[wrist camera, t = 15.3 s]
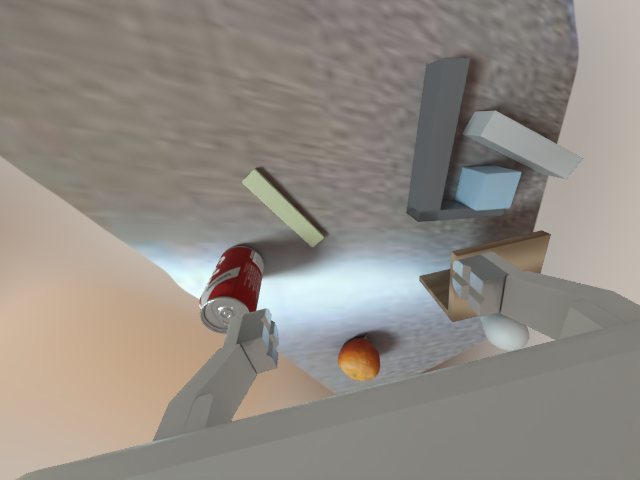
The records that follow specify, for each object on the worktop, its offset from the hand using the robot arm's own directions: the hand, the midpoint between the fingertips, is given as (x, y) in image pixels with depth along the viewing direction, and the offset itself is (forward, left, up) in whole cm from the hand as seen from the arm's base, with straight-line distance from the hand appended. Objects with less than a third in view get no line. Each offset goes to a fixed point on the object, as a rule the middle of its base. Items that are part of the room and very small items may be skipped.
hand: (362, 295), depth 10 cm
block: (+7, +24, -26) cm, 36 cm away
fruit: (+36, +1, -26) cm, 45 cm away
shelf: (+18, +21, -26) cm, 38 cm away
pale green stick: (+4, -5, -27) cm, 27 cm away
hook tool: (+1, +21, -26) cm, 34 cm away
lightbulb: (+31, +26, -26) cm, 48 cm away
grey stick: (+2, +29, -26) cm, 39 cm away
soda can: (+11, -14, -26) cm, 32 cm away
